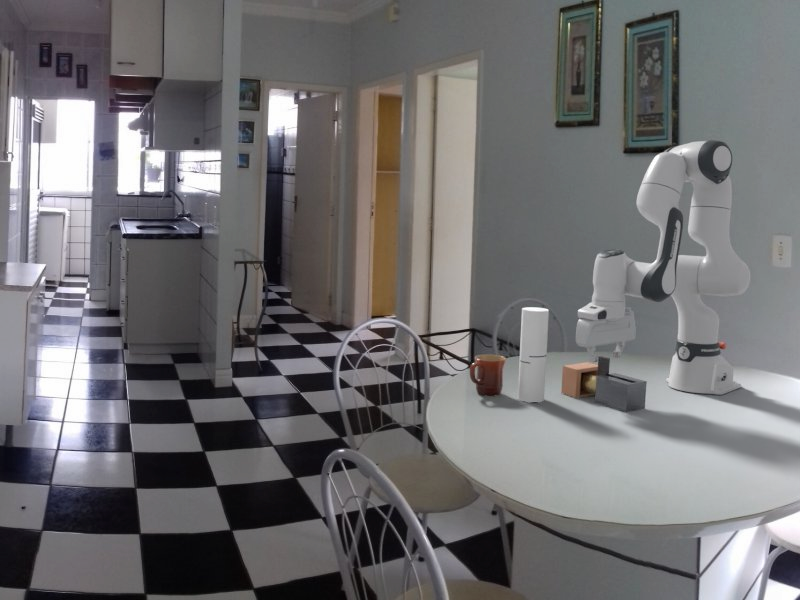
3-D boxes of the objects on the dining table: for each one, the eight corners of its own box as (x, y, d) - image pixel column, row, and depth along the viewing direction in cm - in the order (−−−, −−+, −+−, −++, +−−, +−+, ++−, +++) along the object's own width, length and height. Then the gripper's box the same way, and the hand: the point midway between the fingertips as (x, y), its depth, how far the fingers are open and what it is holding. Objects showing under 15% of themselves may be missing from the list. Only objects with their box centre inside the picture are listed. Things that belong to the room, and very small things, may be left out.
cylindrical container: (543, 403, 216) (548, 312, 212) (516, 401, 217) (521, 310, 214) (544, 396, 223) (549, 308, 219) (518, 394, 224) (522, 306, 220)
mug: (487, 388, 231) (489, 353, 229) (511, 394, 224) (512, 358, 223) (458, 394, 223) (459, 358, 222) (481, 401, 217) (483, 364, 215)
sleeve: (613, 398, 222) (615, 372, 221) (644, 408, 213) (646, 381, 212) (594, 402, 218) (596, 375, 217) (625, 412, 209) (627, 384, 208)
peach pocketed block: (586, 389, 232) (587, 362, 231) (600, 393, 228) (601, 365, 227) (561, 393, 227) (562, 365, 226) (575, 397, 222) (576, 369, 221)
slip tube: (583, 387, 230) (586, 350, 228) (616, 397, 220) (618, 358, 218) (571, 389, 227) (573, 352, 225) (603, 399, 217) (606, 360, 216)
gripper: (624, 305, 226) (621, 352, 228) (573, 311, 214) (570, 361, 217) (642, 308, 221) (639, 357, 223) (590, 315, 209) (588, 366, 211)
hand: (605, 359), depth 220 cm, fingers open, 8 cm apart
